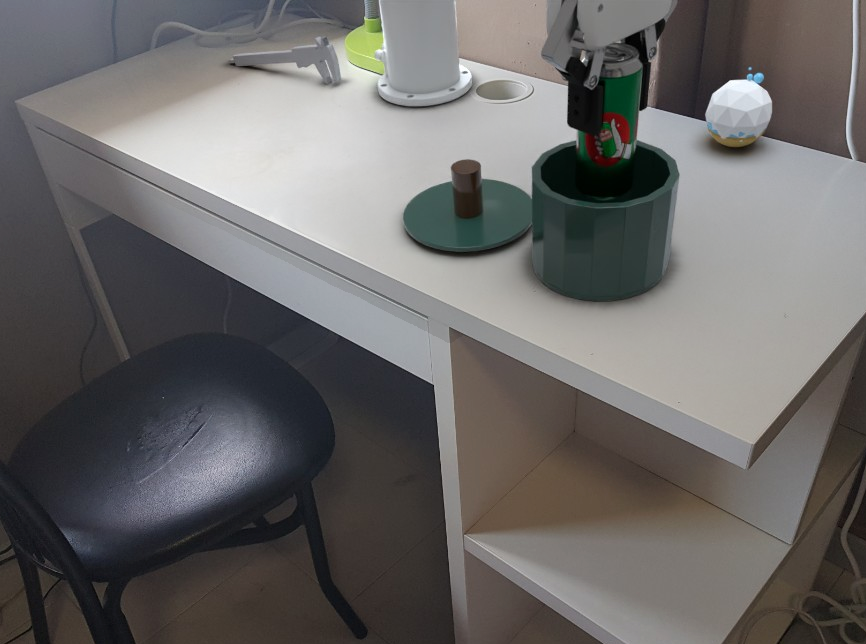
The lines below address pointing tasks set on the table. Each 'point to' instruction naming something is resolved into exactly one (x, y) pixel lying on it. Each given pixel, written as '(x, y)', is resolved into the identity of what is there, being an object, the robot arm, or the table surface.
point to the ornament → (739, 112)
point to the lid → (468, 212)
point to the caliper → (298, 58)
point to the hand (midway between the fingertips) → (607, 115)
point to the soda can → (612, 128)
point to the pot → (602, 227)
